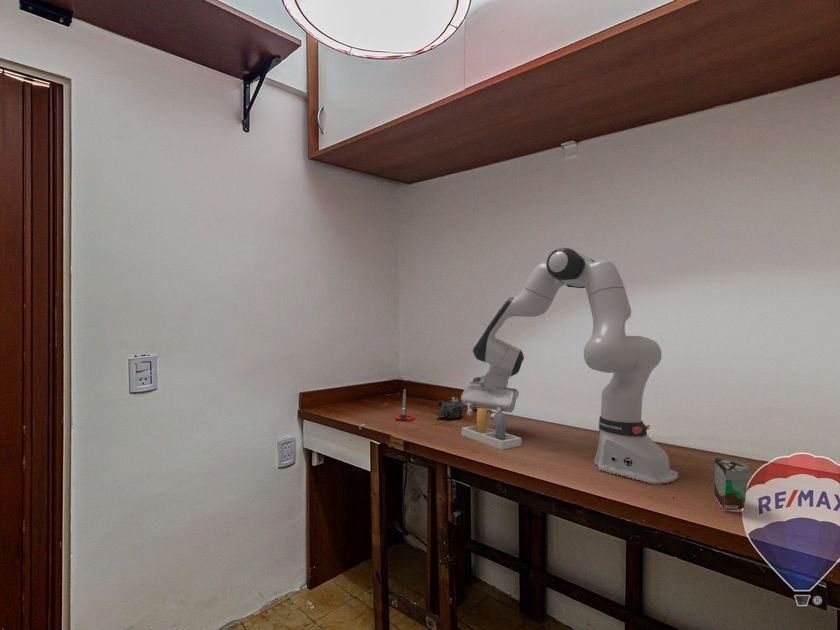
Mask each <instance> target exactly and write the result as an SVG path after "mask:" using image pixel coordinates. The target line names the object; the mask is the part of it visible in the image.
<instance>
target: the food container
mask: <svg viewBox="0 0 840 630" xmlns="http://www.w3.org/2000/svg"><path fill="white" fill-rule="evenodd" d="M713 464H714V466H713V468H714V469H713V471H714V472H713V473H714V475H713V483H714V484H713V495H714V494H715V496H716V497H717V499H718V501H719V502H720V504H721V505H722V506H723V508H724V509H725V510H726V509H727V510H738V509H742V508H744V509H745V505H746V496H747V488H748V482H749V481H748V480H750V479H752V473H751V470H750V467H749V465H747V464H745V463H743V462H742V461H739V460H735V459H731V458H727V457H723V456H717V455H715V456H714V457H713Z"/></svg>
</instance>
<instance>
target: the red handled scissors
mask: <svg viewBox="0 0 840 630" xmlns="http://www.w3.org/2000/svg"><path fill="white" fill-rule="evenodd" d="M406 391H407V390H406V388H404V389H403V394H402V407H401V413H400V414H396V415H394V420H395V421H401V422H412V420H415V419H416V416H415V415H412V414H406V413H407V408H406V403H407V401H406V400H407V395H406Z"/></svg>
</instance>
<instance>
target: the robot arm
mask: <svg viewBox="0 0 840 630" xmlns="http://www.w3.org/2000/svg"><path fill="white" fill-rule="evenodd" d="M563 286H566V287H568V288H575V289H585V290H586V295H587V299H588V304H589V306H590V307H589V308H590V313H591V315H592V325H593V326H592V332H591V333H592V334H591V337H590V338H589V339H588V341H587V342H586V344H585V345H584V347H583V358H584V361H585V364H586V365H587V366H588V368H590V369H591V370H592V371H597V372H600V373H601V372H602V373H604V374H605V373H606V374H610V373H611V374H613V376H612V377H611V380H610V381H609V383H608V384H607V385H606V386H605V387H604V388H603V389H602V391H601V401H600V402H601V406H600V410H601V411H600V416H599V419H598V421H599V422H598V432H599V437H598V444H597V448H596V449H597V450H596V454H595V457H594V460H593V463H594V464H595V466H597V469H598V470H599V471H600V470H602V471H601V472H603V471H606V472H605V473H607V472H609V473H608V474H611V473H613V474H612V475H615V474H617V475H616V476H618V475H621V476H620V477H622V476H626V477H629V478H628V479H630V478H632V479H631V480H634V479H636V480H635V481H637V480H641V481H644V482H643V483H645V482H649V483H665V482H670V481H672V480H674V479H676V478H677V477H678V478H679V473H678V471H676V470H672V469H671V467H670V460H669V456H668V454H667V452H666V451H665V450H663V449H662V448H661V447H660V446H659V444H657V443H656V442H655V441H654V440H653V439H652V438H651V437H650V436H649V435H648V432H647V431H648V430H650V429H651V428H650V426H651V425H650V424H648V425H645V423H644V421H643V420H642V412H643V410H642V409H643V398H644V392H645V389H646V385H647V382H648V379H649V377H650V375H651V373H652V372H653V370H655V368H657V366H658V365H659V364H660V363H661V360H662V356H663V355H662V349H661V347H660V345H659V343H658V342H657V341H656V340H653V339H651V338H649V337H645V336H642V335H627V334H626V331H625V330H626V328H625V327H626V322H627V321H628V320H629V319H630V318H631V316H632V309H631V305H630V302H629V301H630V300H629V299H628V298H629V297H628V295H627V294H628V293H627V291H626V287H625V284H624V282H623V279H622V277H621V274H620V272H619V271H618V269H617V267H616V265H615V263H613V262H612V261H610V260H606V259H605V260H604V259H602V260H601V259H600V260H593V259H592V258H590V257H588V256H587V255H585V253H582V252H580V251H578V250H574V249H573V248H569V247H558V248H556V249H554V250H553V251H551V252H550V253H549V255H548V256H547V260H546V262H542V263H539V264H538V265H536V266H535V268H534V270H532V272H531V274H529V277H528V279H527V281H526V283H525V284H524V286H523V288H522V290H521V291H520V293H518V294H517V295H516V296H515V297H514V296H512V297H509V298H508V299H507V300H506V301H505V302H504V303H503V305H502V306H501V308H500V309H499V310H498V311H497V313H496V314H495V315H494V317H493V319H492V320H491V321H490V322H489V324H488V326H487V327H486V329H485V330H484V332H483V333H482V334H481V335H480V336H479V337H478V338H477V339H476V341H474V344H473V347H472V353H473V355H474V357H475V359H476V360H477V361H481V362H483V363H487V364H489V366H488V371H487V372H486V374H484V375H481V376H476V377H470V378H471V379H470V380H469V384H467V386H465V388H464V389H463V392H462V393H461V396H460V400H461V402H462V403H463V405H464V406H467V411H466V415H467V416H471V417H472V416H473V414H474V411H473V409H474V408H486V409H487V410H493V411H494V413H493V412H492V413H491V416H490V419H491V421H492V420H493V421H496V414H497V413H502V414H503V413H504V412H505V413H512V412H513V411H514V410H515V407H516V402H517V399H518V397H519V394H520V393H519V390H517V388H511V387H508V384H509V379H510V378H511V377H514V376H516V375H517V374H519V372H520V369H521V367H522V363H524V359H525V355H524V353H523V351H522V349H520V348H518V347H516V346H515V345H512V344H511V343H507V342H505V341H503V340H501V339H498V338H497V337H496V335H497V333H498V331H499V330H500V329H501V327H502V326H503V325H504V323H505V322H506V321H507V320H508V319H509V318H512V317H522V318H523V317H524V318H535V317H540V316H542V315H544V314H545V313H547V312H548V310H549V308H550V307H551V305H552V303H553V301H554V299H555V297H556V295H557V293H558V291H559V290H560V288H562V287H563ZM626 477H625V478H626ZM641 481H640V482H641ZM649 483H648V484H649Z"/></svg>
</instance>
